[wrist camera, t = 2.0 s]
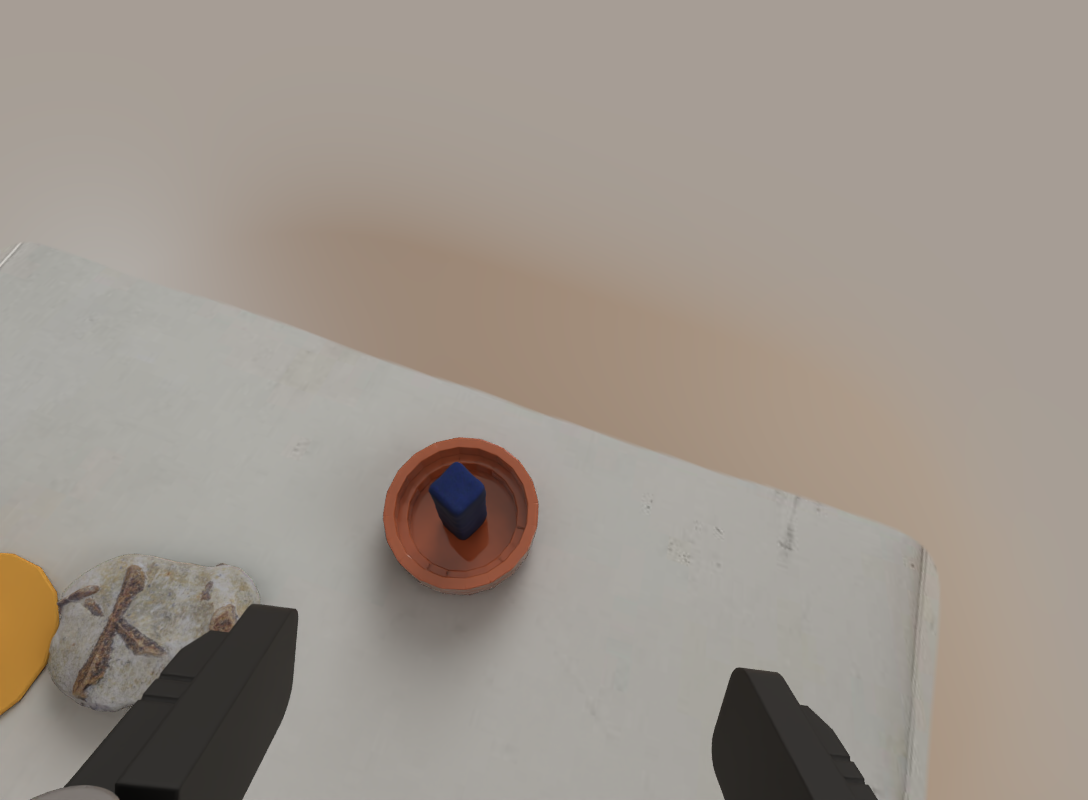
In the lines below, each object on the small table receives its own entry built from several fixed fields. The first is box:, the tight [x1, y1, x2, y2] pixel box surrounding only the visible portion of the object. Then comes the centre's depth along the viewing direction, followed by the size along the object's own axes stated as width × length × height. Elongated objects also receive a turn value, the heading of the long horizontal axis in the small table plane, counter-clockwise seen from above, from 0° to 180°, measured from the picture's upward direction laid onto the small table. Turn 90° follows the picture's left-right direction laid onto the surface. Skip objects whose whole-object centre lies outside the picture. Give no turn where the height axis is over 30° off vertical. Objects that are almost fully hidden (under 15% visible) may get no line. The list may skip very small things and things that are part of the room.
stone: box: [48, 554, 260, 712], centre depth 29 cm, size 10×7×3 cm
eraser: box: [429, 462, 487, 540], centre depth 30 cm, size 2×2×7 cm
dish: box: [383, 437, 539, 595], centre depth 33 cm, size 8×8×3 cm
